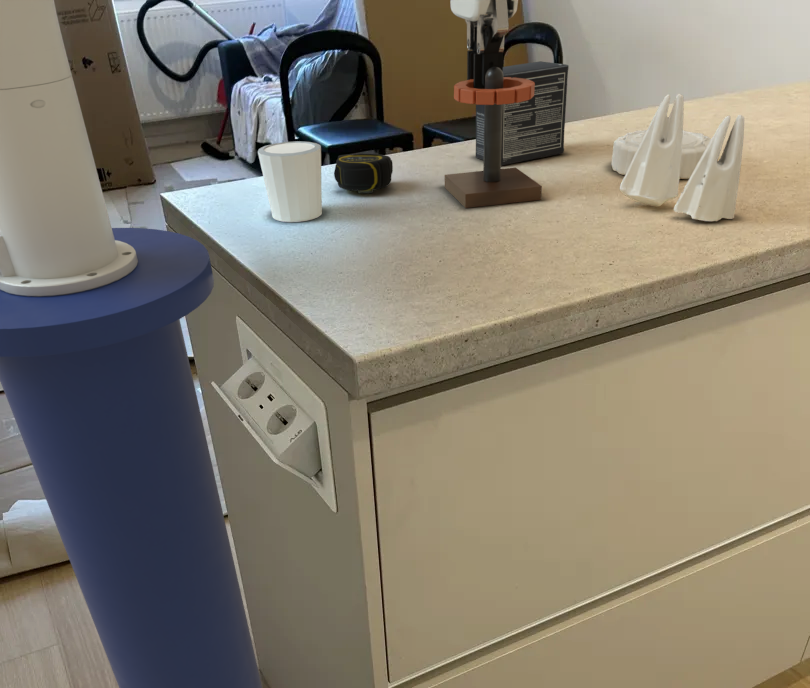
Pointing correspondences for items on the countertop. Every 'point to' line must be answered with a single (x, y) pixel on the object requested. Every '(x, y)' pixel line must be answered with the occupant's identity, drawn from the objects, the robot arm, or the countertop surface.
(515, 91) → the ring
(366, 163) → the tape measure
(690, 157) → the mooncake
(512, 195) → the stand
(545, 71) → the small box
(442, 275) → the countertop surface
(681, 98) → the shaker set
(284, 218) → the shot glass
